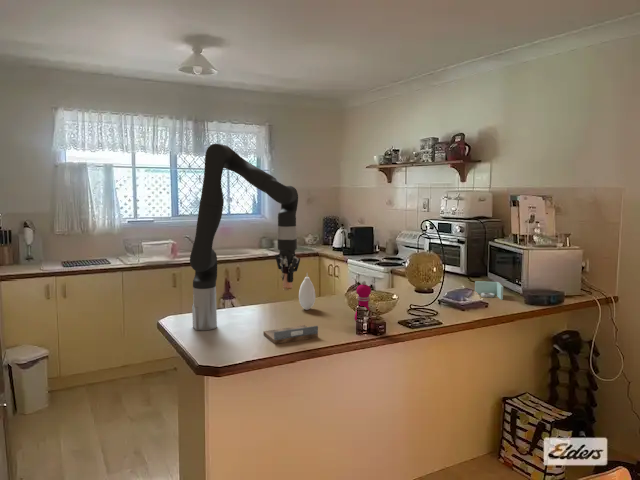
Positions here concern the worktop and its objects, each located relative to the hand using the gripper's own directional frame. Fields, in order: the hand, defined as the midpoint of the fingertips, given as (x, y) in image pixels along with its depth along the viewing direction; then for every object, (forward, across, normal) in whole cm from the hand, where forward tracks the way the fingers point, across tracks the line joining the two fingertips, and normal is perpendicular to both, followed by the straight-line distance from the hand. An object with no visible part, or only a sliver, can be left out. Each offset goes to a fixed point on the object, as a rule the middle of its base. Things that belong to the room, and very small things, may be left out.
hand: (287, 281), depth 190 cm
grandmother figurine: (+3, 0, 0) cm, 3 cm away
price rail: (+20, +8, -2) cm, 22 cm away
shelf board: (+21, +2, -1) cm, 22 cm away
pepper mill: (+22, +14, +28) cm, 38 cm away
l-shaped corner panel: (+23, +17, +119) cm, 123 cm away
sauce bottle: (+22, -24, +29) cm, 44 cm away
